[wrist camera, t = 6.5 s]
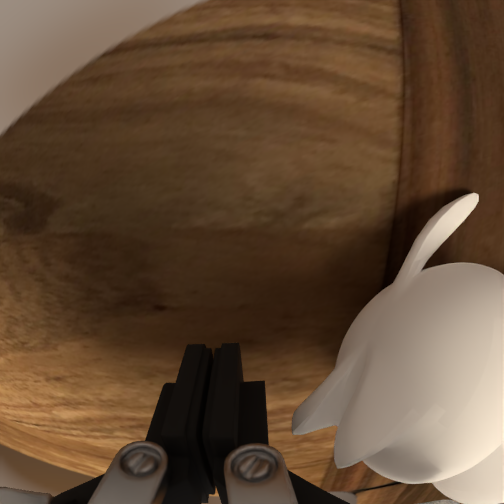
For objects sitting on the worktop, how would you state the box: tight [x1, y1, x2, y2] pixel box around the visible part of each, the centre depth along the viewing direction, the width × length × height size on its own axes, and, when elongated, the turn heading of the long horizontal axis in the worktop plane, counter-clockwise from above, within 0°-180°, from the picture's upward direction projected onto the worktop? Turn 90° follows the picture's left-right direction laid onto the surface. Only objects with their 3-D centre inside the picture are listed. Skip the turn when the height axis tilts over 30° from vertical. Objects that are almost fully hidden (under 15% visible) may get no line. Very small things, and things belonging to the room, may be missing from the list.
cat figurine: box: [292, 193, 504, 504], centre depth 8 cm, size 9×11×12 cm
